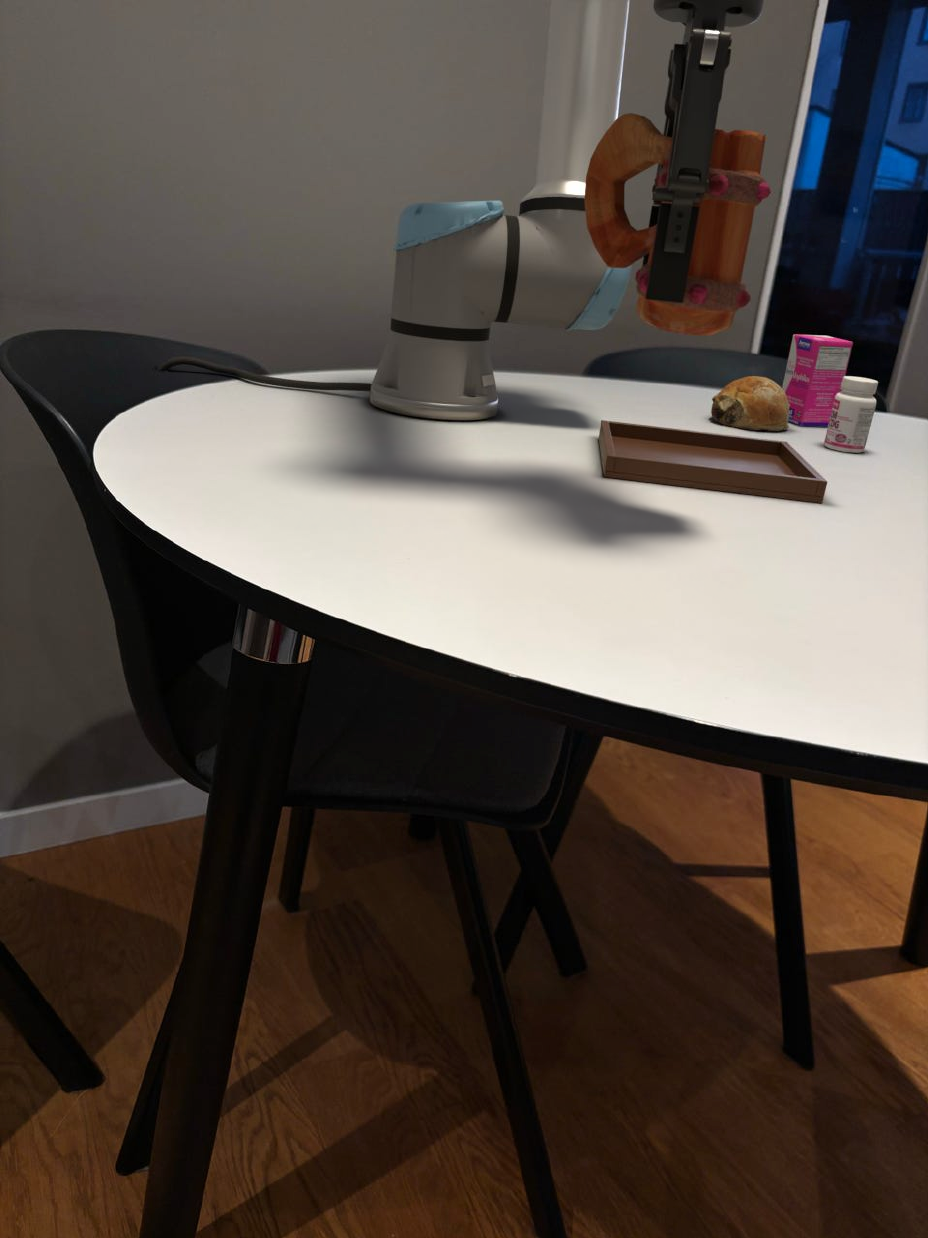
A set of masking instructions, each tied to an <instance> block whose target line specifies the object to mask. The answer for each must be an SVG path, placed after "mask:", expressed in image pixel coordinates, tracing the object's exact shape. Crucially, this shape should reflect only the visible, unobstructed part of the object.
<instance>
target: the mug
mask: <svg viewBox="0 0 928 1238" xmlns="http://www.w3.org/2000/svg"><path fill="white" fill-rule="evenodd" d="M766 136H767V135H766V134H763V133H761V132H760V131H759V132H758V131H753V130H747V129H734V130H731V131H729V132H726V131H725V130H724V129H719V128H715V133H714V140H713V146H712V153H711V159H710V166H709V172H708V178H707V179H708V181H709V183H708V188H707V189H706V191H705V193H704V194H703V199H702V200H701V201H700V204H699V205H693V206H698V207H700V209H699V214H698V220H697V226H696V231H695V237H694V243H693V249H692V254H691V260H690V266H689V271H688V277H687V283H686V288H685V294H684V300H683V303H677V302H668V301H659V300H650V299H645V296H646V290H647V284H648V277H649V271H650V265H651V259H652V253H653V246H654V240H655V234H656V228H657V224H656V225H655V226H653V227H649V226H648V227H649V228H648V227H646V228H643V229H636V228H635V227H634V226H632V224H631V222H630V220H629V217H628V215H627V212H626V209H625V184H626V182H627V181H629V180H630V179H632V178H634V177H636V176H637V175H639V174H641V173H642V172H644V171H646V170H648V169H649V168H652V167H653V166H655V165H656V164H657V165H658V163H660V164H663V167H662V169H661V171H660V173H659V174H658V175H657V177H656V176H655V178H654V184H655V185H656V186H657V187H664V188H665V187H666V182H667V174H668V166H669V158H670V151H671V143H672V137H667V136H664V135H663V133H662V132H661V131H660V129H659V128H657V126H655V124H654V123H653V122H652V120H651V119H650V118H648V117H646V116H645V115H640V114H637V113H632V112H629V113H624V114H622V115H621V116H619V117H618V118H617V119H616V120H615V121H614V123H613V124H612V125H611V126H610V128H609V129H608V130H607V131H606V133H605V134H604V136H603V137H602V139H601V140H600V142H599V143H598V145H597V147H596V149H595V151H594V153H593V155H592V157H591V159H590V163H589V167H588V171H587V175H586V184H585V212H586V223H587V228H588V231H589V233H590V236H591V239H592V241H593V244H594V246H595V248H596V250H597V251H598V253H599V255H600V256H601V258H602V260H603V261H604V262H605V264H606V265H607V266H608V267H610V268H626V267H628V266H630V265H632V266H633V265H634V264H635V263H636V262H637V261H640V259H642V258H644V256H646V255H647V254H649V253H650V255H649V259H648V263H647V264H645V265H643V264H642V265H641V267H640V269H638V270H637V271H636V272H635V277H634V279H635V281H636V287H635V289H636V292H637V294H638V298H637V301H636V306H635V313H636V315H637V316H638V318H640V319H641V320H642V321H643V322H644V323H646V324H647V325H649V326H651V327H653V328H655V329H656V328H657V329H658V330H662V331H663V330H664V331H666V332H673V333H675V334H683V335H690V336H699V337H703V336H705V337H708V336H714V335H715V334H717V333H719V332H722V331H725V330H728V329H730V328H731V327H732V326H733V322H734V317H735V315H736V313H737V311H739V310H740V309H742V308H745V307H746V306H747V305H748V304H749V303H750V302H751V294H750V293H749V291H747V285H746V283H744V282H743V281H742V279H743V274H744V268H745V262H746V258H747V254H748V253H747V252H748V247H749V241H750V238H751V232H752V227H753V221H754V215H755V214H754V213H755V209H756V208H755V207H757V206H759V205H760V204H761V202H762V201H763V200H764V199H767V198H768V197H769V196H770V194H771V191H772V190H771V187H770V186H769V184H768V183H767V180H766V178H765V177H762V176H761V170H762V163H763V157H764V150H765V144H766ZM662 203H670V204H671V202H665V201H662Z"/></svg>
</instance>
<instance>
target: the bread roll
mask: <svg viewBox="0 0 928 1238" xmlns="http://www.w3.org/2000/svg"><path fill="white" fill-rule="evenodd" d="M711 401H712V405H711V409H710V414H711V418H712V419H713V420H714V421H716V422H717V423H719V424H721V425H724V426H729V427H733V428H736V429H744V430H750V431H754V432H755V431H756V432H759V431H763V430H764V431H767V432H781V431H787V430H788V429H789V427H790V425H789V421H788V418H789V406H790V404H789V403H788V400H787V397H786V394H785V393H784V391H783V389H782V386H780V385H779V384H778V383H777V382H775V381H773V379H770V378H768V377H765V376H757V375H753V376H750V375H749V376H744V377H741V378H739V379H735V380H733V381H731V382H729V383H728V384H726V385H725V386H724V387H723V388H722V389H721V390H720V391H719V392H717V394H715V395H714V396H713V397H712V398H711Z"/></svg>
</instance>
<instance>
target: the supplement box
mask: <svg viewBox="0 0 928 1238" xmlns="http://www.w3.org/2000/svg"><path fill="white" fill-rule="evenodd" d="M853 344H854V342H853V341H850V340H847V339H842V338H839V337H838V338H837V337H835V336H834V337H833V336H830V335H818V334H798V333H797V334H793V335H792V339H791V344H790V349H789V353H788V358H787V362H786V368H785V373H784V377H783V382H782V386H781V388H782V389H783V391H784V393H785V394H786V397H787V400H788V403H789V404H790V406H789V418H788V422H789V423H792V424H796V425H797V426H800V427H816V428H817V427H818V428H819V427H820V428H828V424H829V420H830V416H831V412H832V408H833V403H834V399H835V396H836V394H837V393H839V392H841V391H842V389H841V383H842V380H843V377H844V376H847V375H846V374H847V369H848V366H849V361H850V357H851V353H852V348H853Z"/></svg>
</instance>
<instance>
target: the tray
mask: <svg viewBox="0 0 928 1238" xmlns="http://www.w3.org/2000/svg"><path fill="white" fill-rule="evenodd" d="M598 444H599V451H600V457H601V458H600V459H601V465H602V466H601V467H602V473H603V477H604V478H609V479H610V478H611V479H619V480H626V481H635V482H641V483H642V482H643V483H650V484H651V483H652V484H658V485H659V484H660V485H668V486H677V487H684V488H685V487H686V488H693V489H702V490H708V491H709V490H710V491H717V492H718V491H719V492H727V493H734V494H735V493H736V494H743V495H751V496H758V497H759V496H761V497H767V498H776V499H783V500H793V501H799V502H800V501H801V502H808V503H819V504H823V502H824V497H825V494H826V491H827V486H828V481H827V479H826V478H824V476H823V475H821V474H820V472H818V471H817V470H816V469H815V468H814V467H813V466H812V465H811V464H810V463H809V462H808V461H807V460H806V459H805V458H804V457H803V456H802V455H801V454H800V453H799V452H798V451H797V450H796V449H795V448H794V447H792V445H791V444H789V442H787V441H782V440H775V439H765V438H759V437H750V436H749V437H748V436H742V435H741V436H740V435H731V434H722V433H715V432H705V431H697V430H690V429H689V430H688V429H681V428H671V427H665V426H664V427H663V426H655V425H647V424H638V423H630V422H621V421H611V420H604V419H601V420H600V426H599V433H598Z"/></svg>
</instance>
